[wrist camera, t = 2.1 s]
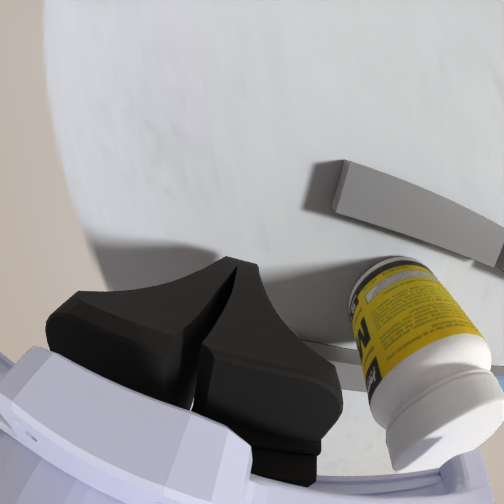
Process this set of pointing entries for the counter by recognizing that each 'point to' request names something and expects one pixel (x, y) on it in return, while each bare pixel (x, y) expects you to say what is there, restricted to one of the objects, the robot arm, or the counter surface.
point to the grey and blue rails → (412, 224)
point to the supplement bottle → (422, 366)
